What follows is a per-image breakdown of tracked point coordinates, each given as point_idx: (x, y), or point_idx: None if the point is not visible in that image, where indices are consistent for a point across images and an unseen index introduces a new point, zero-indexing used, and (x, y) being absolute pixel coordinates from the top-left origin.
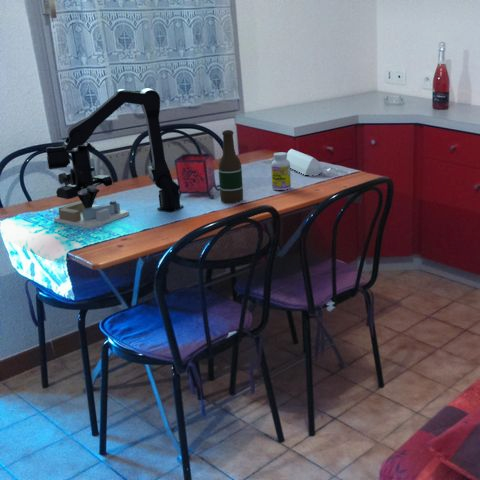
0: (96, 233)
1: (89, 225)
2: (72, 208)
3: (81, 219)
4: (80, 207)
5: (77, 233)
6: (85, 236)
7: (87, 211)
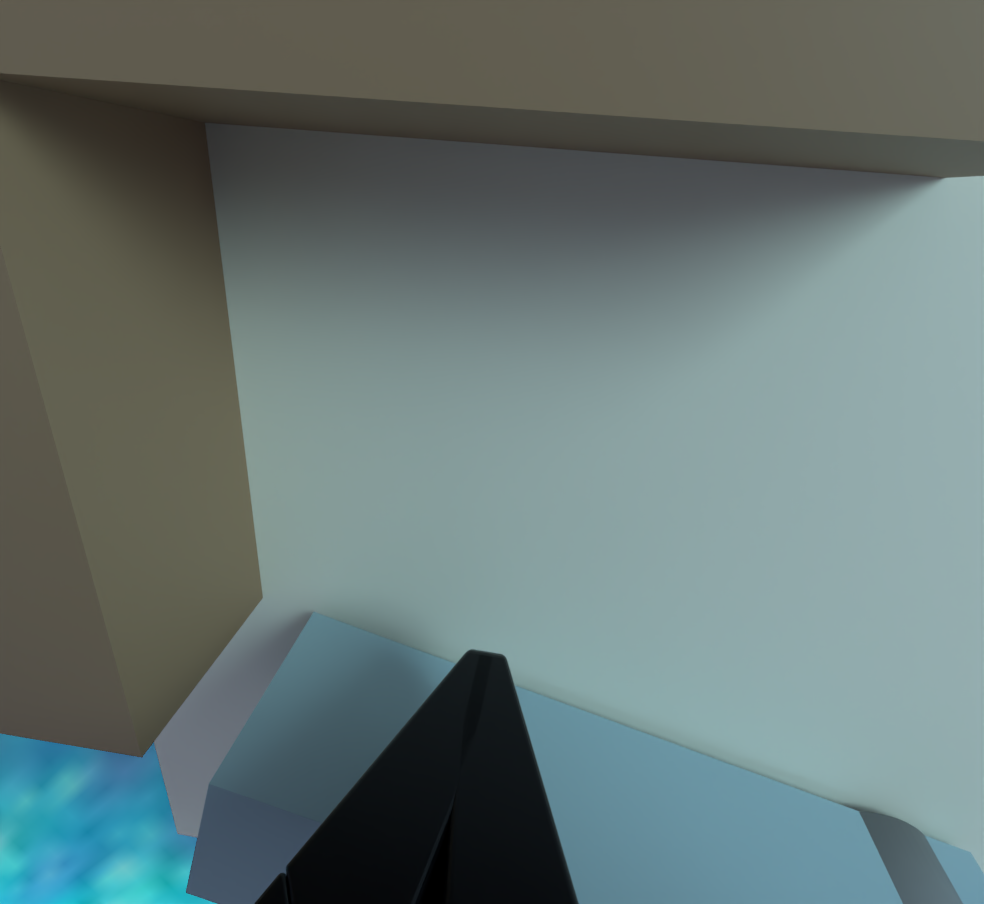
0: (171, 887)
1: (179, 831)
2: (377, 110)
3: (284, 589)
4: (782, 149)
5: (29, 741)
6: (47, 847)
7: (243, 886)
